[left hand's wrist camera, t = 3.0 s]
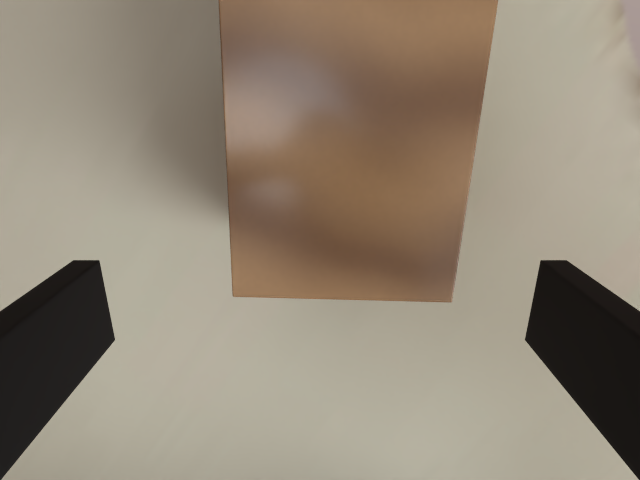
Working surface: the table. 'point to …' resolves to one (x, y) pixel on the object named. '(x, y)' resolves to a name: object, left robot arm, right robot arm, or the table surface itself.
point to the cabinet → (351, 143)
